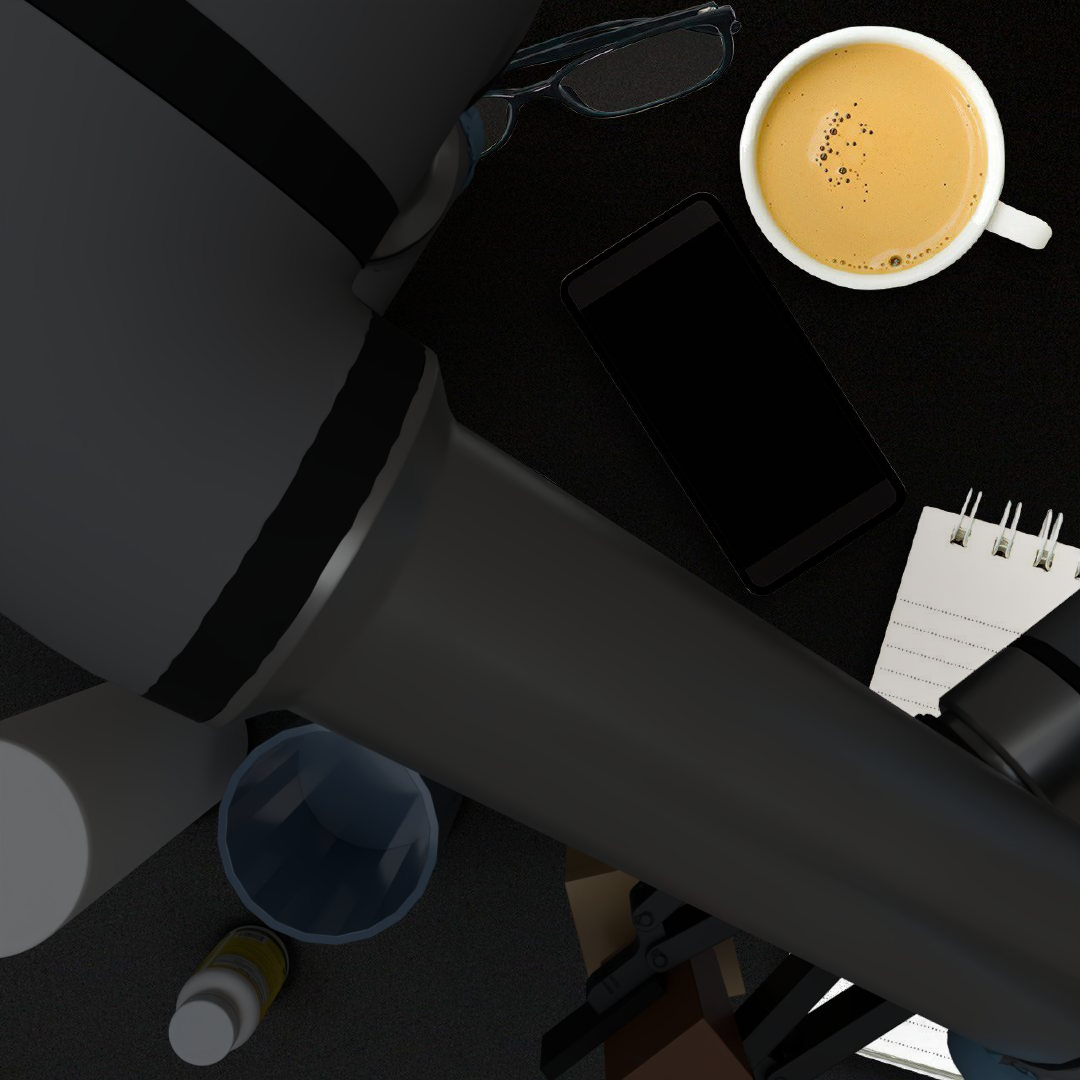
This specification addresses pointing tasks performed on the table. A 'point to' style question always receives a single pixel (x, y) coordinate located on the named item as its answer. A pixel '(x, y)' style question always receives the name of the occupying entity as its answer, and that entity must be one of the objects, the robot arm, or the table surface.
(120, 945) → the table surface
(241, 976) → the pill bottle
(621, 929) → the stand
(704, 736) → the robot arm
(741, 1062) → the chocolate box
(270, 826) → the bin
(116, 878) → the cylinder
